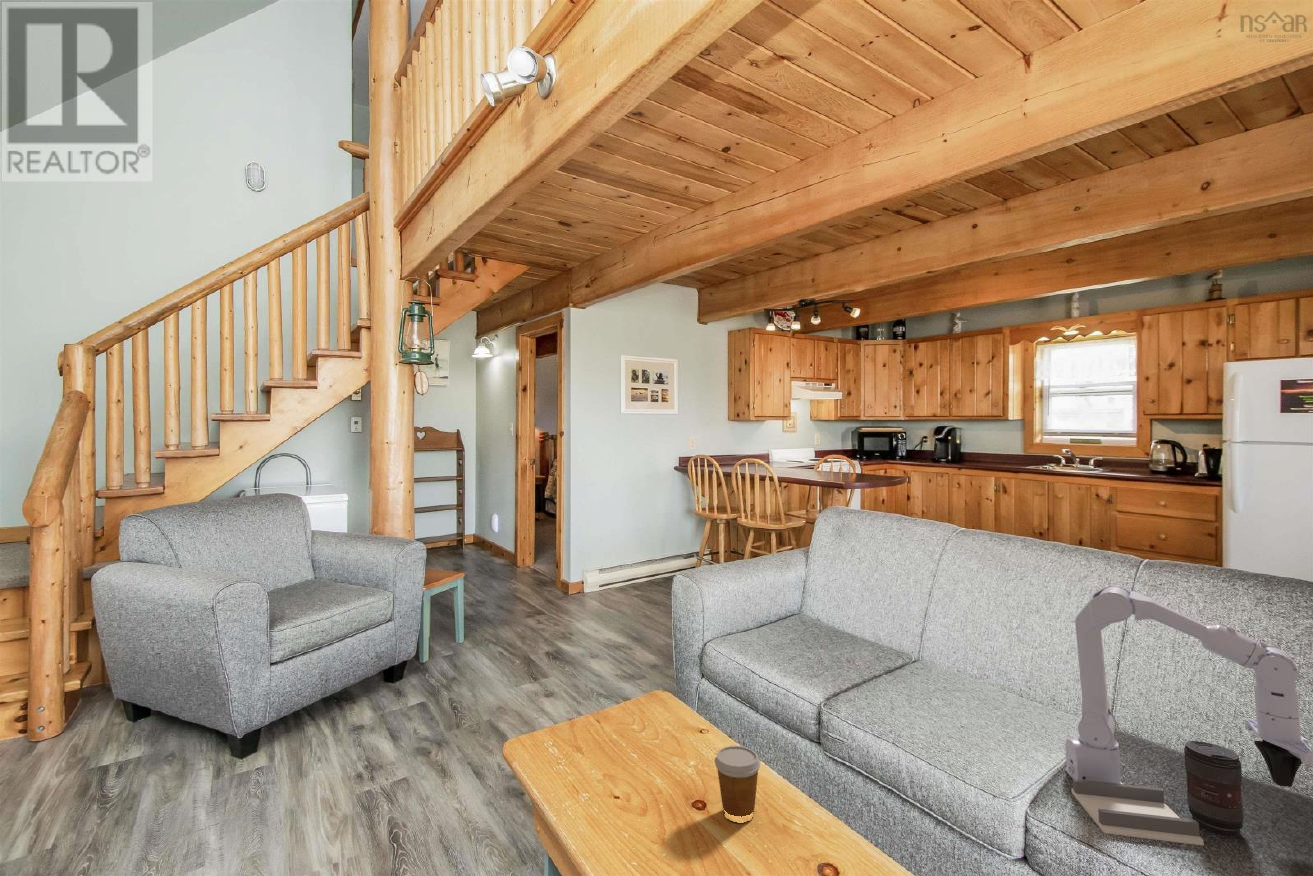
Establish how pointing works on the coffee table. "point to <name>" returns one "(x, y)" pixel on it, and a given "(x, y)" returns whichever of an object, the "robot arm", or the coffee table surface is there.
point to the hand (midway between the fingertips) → (1282, 784)
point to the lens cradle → (1134, 812)
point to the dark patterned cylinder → (1214, 788)
